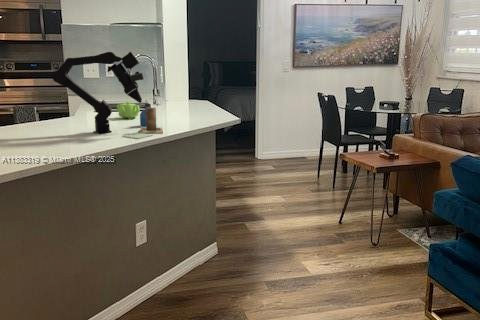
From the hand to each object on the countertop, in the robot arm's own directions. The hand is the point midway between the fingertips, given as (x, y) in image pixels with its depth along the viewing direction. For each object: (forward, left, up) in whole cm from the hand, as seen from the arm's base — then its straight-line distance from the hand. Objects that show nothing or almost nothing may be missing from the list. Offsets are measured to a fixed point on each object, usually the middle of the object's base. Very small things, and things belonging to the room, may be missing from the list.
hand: (141, 101), depth 227 cm
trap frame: (+4, +3, -15) cm, 16 cm away
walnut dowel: (+4, +3, -15) cm, 16 cm away
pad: (+6, -10, -15) cm, 20 cm away
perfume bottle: (-10, +17, -16) cm, 25 cm away
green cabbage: (-37, +31, -16) cm, 50 cm away
